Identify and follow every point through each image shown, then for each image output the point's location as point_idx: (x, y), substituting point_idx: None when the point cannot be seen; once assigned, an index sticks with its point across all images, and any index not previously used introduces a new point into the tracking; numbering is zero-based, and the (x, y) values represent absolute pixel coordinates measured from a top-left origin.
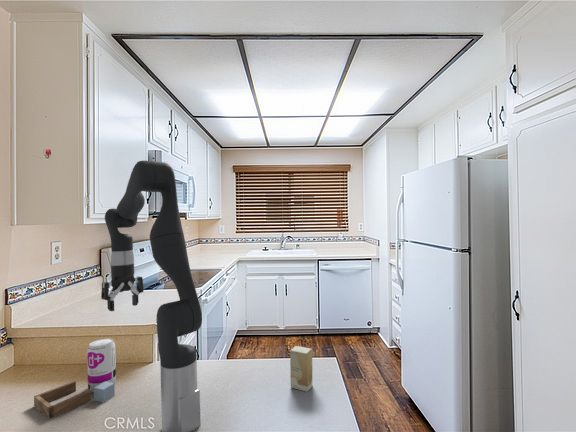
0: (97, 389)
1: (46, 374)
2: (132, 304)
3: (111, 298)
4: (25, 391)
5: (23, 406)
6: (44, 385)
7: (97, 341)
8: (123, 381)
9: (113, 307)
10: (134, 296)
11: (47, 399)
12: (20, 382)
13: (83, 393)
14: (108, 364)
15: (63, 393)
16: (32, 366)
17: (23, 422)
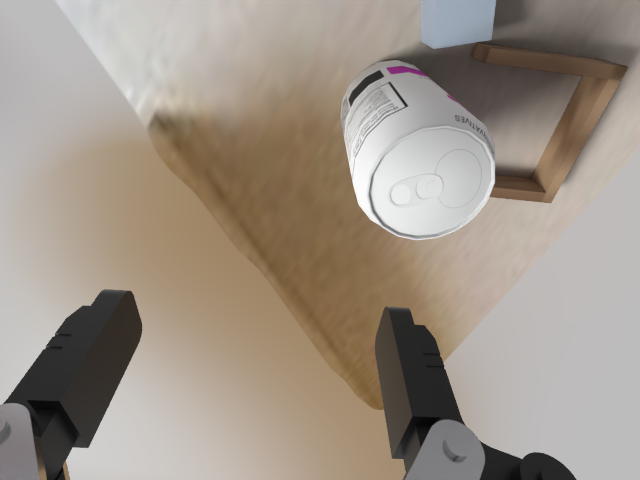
0: (493, 13)
1: None
2: (140, 336)
3: (465, 458)
4: (471, 284)
5: (538, 213)
6: (434, 276)
7: (418, 225)
8: (324, 69)
9: (403, 334)
10: (75, 404)
11: (514, 180)
12: (438, 333)
13: (515, 56)
14: (417, 82)
15: None
16: (370, 382)
17: (620, 121)
